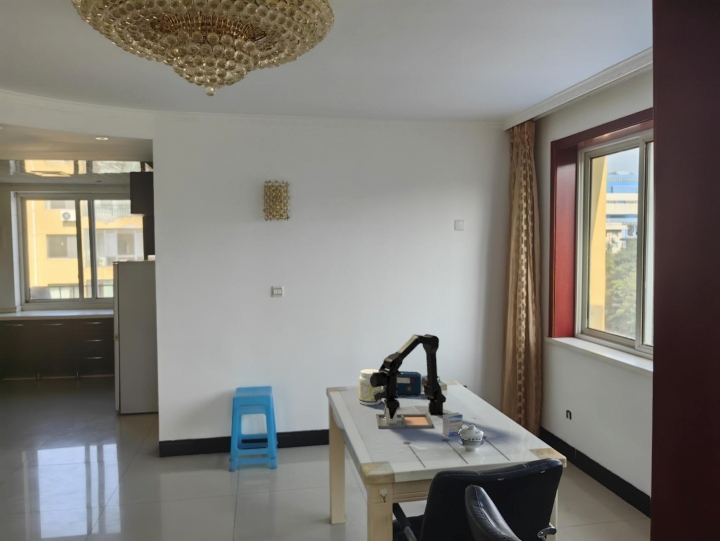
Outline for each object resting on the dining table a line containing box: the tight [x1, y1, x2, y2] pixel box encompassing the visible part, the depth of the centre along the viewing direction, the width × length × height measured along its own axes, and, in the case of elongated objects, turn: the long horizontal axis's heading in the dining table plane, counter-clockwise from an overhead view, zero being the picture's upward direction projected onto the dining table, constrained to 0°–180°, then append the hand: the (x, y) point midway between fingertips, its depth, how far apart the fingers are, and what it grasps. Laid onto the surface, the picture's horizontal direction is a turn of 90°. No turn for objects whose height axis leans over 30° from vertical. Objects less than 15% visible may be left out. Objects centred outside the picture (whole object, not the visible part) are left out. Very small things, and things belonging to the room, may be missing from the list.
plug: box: [383, 406, 398, 424], centre depth 248 cm, size 6×4×8 cm
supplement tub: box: [358, 368, 382, 406], centre depth 280 cm, size 12×12×17 cm
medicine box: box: [442, 412, 464, 437], centre depth 234 cm, size 8×4×9 cm, turn 117°
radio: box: [382, 370, 422, 397], centre depth 297 cm, size 21×9×20 cm, turn 81°
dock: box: [375, 413, 434, 430], centre depth 248 cm, size 25×17×2 cm
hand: (390, 417), depth 248 cm, fingers closed on plug, 4 cm apart
